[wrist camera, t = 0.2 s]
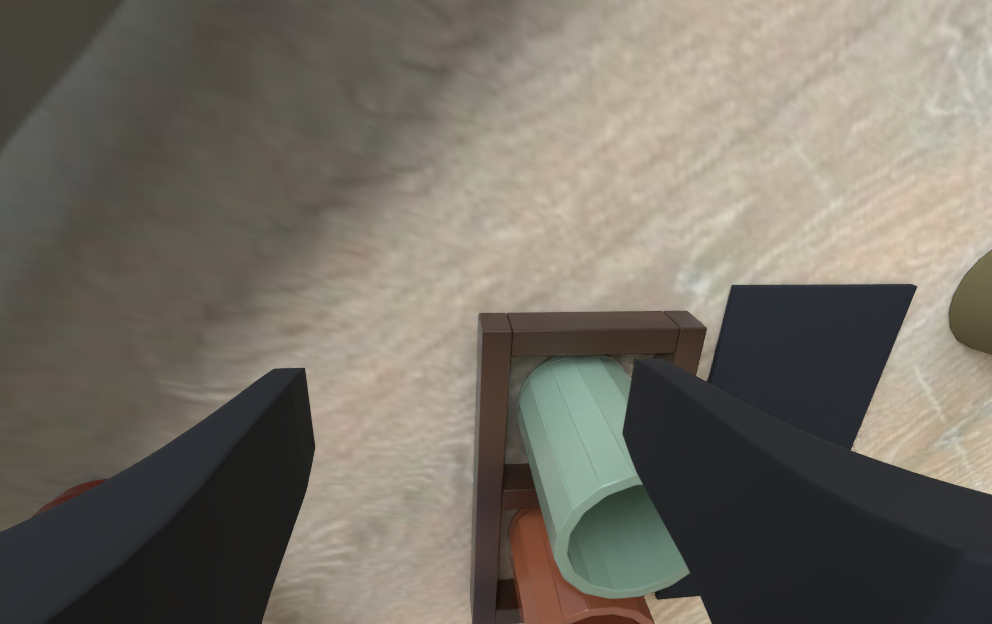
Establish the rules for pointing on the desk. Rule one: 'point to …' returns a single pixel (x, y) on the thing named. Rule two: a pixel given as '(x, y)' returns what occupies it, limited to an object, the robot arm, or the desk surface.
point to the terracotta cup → (558, 583)
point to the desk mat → (806, 357)
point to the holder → (494, 481)
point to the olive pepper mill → (974, 307)
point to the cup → (593, 480)
